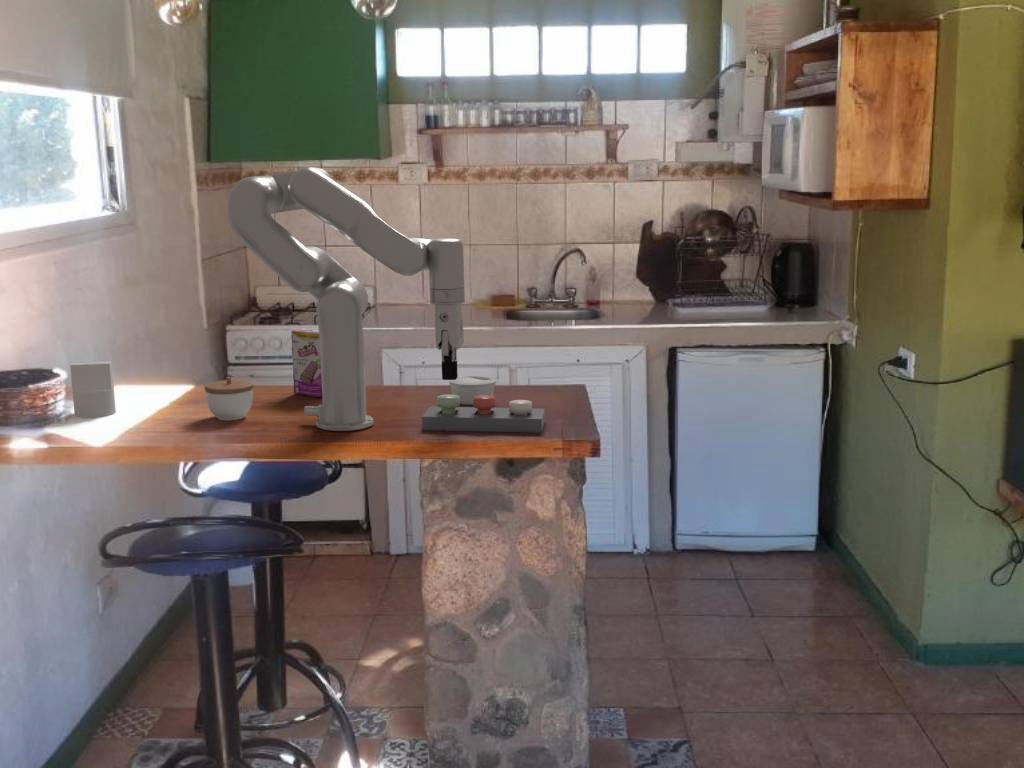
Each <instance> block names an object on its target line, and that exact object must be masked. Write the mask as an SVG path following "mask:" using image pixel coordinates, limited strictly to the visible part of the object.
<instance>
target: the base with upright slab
mask: <svg viewBox="0 0 1024 768" xmlns="http://www.w3.org/2000/svg"><path fill="white" fill-rule="evenodd" d="M69 365H70V366H69V368H70V377H71V379H70V380H71V390H72V400H73V413H74V417H76V418H78V419H96V418H97V419H98V418H104V417H109V416H112V415H115V414H116V412H117V410H116V399H115V397H116V396H115V387H114V385H115V384H114V374H113V361H112V360H109V361H108V360H107V361H85V362H71V363H70V364H69Z"/></svg>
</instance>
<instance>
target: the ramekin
mask: <svg viewBox="0 0 1024 768" xmlns="http://www.w3.org/2000/svg"><path fill="white" fill-rule="evenodd" d="M496 385H497V381H496V379H494V378H492V377H488V376H477V375H476V376H475V375H472V376H471V375H470V376H469V375H468V376H467V375H466V376H458V377H457V379H456V380H449V386H450V390H451V395H458V396H460V405H468V406H473V397H474V396H479V395H491V396H494V392H495V386H496Z"/></svg>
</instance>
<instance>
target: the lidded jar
mask: <svg viewBox="0 0 1024 768" xmlns="http://www.w3.org/2000/svg"><path fill="white" fill-rule="evenodd" d="M204 390H205V400H206V405H207V408H208V409H209V411H210V412H211V413H212V414H213V415H214V416H215V417H216V419H217V420H219V421H225V422H226V421H237V420H242V419H244V418H245V416H246V415H247V414H248V413H249V411H250V410H251V409H252V404H253V401H254V383H253V382H252V381H248V380H243V379H232V378H231V377H230V376H228V377H226V380H225V379H224V380H217V381H212V382H208V383H206V384H205V385H204Z"/></svg>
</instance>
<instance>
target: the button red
mask: <svg viewBox="0 0 1024 768" xmlns="http://www.w3.org/2000/svg"><path fill="white" fill-rule="evenodd" d="M496 400H497V398H496V396H494V395H493V396H491V395H479V396H474V397H473V405H472V407H474V408H477V409H478V415H491V408H497V405H496V404H497V403H496Z"/></svg>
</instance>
